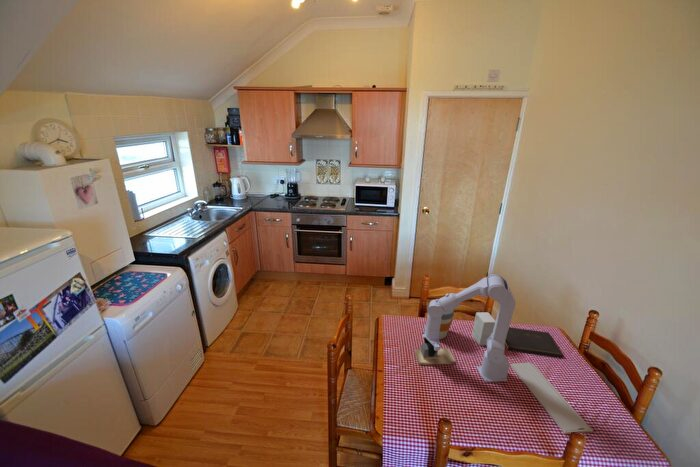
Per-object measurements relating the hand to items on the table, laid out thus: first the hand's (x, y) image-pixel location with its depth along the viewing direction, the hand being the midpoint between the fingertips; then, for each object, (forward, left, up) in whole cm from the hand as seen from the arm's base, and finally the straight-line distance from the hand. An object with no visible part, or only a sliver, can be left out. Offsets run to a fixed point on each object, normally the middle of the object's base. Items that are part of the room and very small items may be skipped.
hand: (429, 352), depth 132 cm
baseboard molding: (-41, +21, -4) cm, 46 cm away
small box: (-30, -10, -3) cm, 32 cm away
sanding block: (0, 0, -2) cm, 2 cm away
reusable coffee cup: (-10, -16, -3) cm, 19 cm away
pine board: (-3, 0, -3) cm, 4 cm away
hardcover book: (-52, -8, -4) cm, 52 cm away
